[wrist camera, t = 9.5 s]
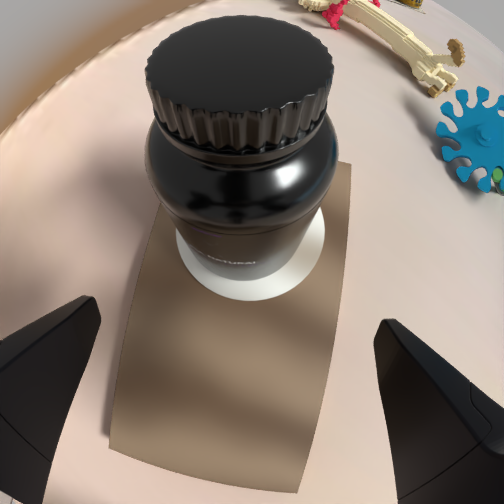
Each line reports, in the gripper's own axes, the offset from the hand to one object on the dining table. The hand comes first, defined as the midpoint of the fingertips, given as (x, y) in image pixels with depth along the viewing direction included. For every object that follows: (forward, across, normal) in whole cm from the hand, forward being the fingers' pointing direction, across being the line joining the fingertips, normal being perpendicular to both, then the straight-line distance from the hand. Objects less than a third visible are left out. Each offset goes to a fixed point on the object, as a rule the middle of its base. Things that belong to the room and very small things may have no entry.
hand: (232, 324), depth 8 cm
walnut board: (+7, +1, +6) cm, 9 cm away
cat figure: (+31, -12, -18) cm, 38 cm away
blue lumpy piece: (+17, -20, -4) cm, 27 cm away
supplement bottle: (+10, 0, +1) cm, 10 cm away
